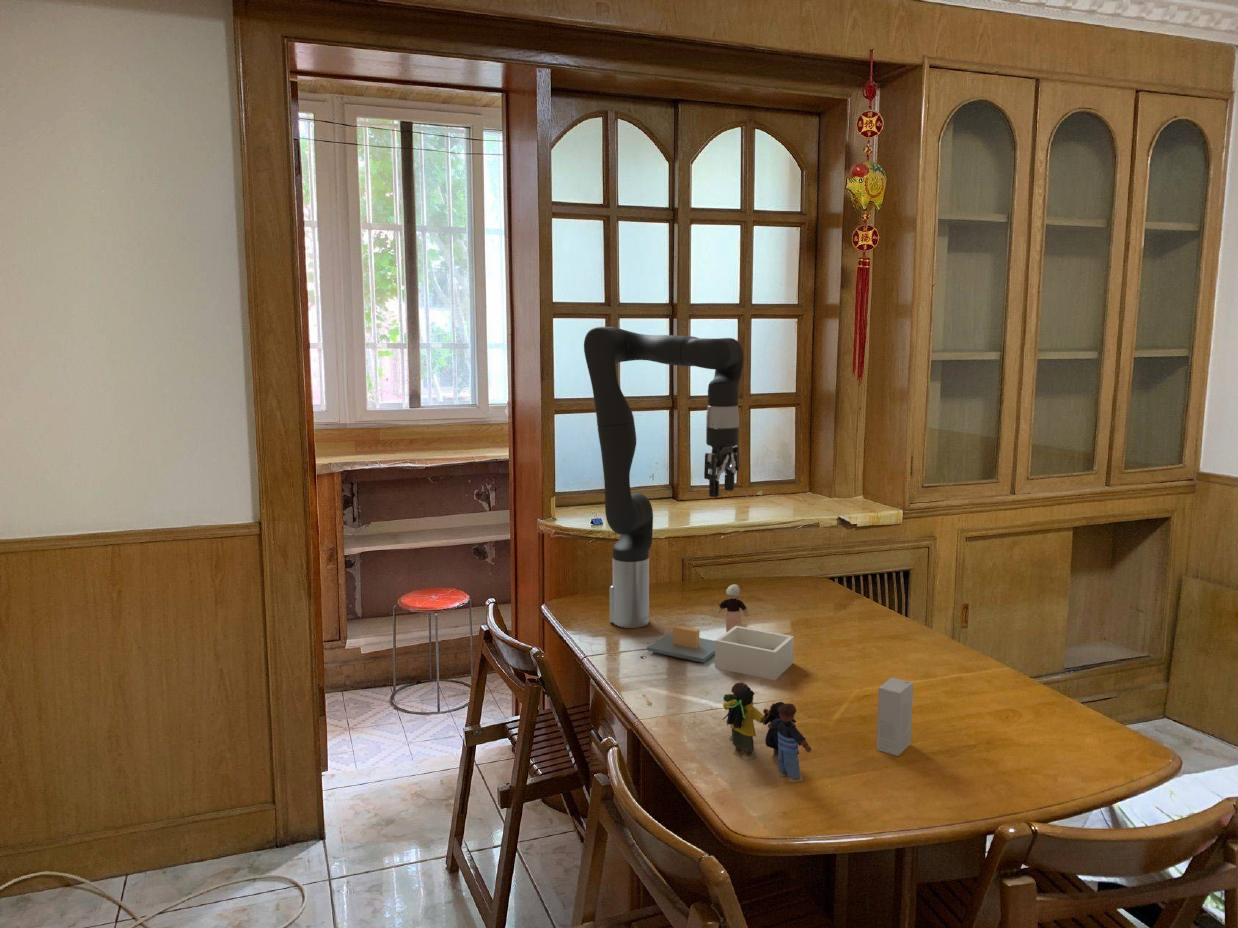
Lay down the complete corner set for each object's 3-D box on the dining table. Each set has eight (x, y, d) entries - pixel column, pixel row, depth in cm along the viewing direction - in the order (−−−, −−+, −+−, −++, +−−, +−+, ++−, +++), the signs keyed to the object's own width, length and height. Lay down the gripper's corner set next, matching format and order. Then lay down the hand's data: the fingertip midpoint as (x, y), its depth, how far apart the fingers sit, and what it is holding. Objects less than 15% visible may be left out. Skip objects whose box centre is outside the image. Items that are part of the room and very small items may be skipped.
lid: (646, 654, 206) (646, 630, 205) (670, 639, 216) (670, 616, 215) (703, 666, 199) (703, 641, 198) (724, 650, 208) (725, 626, 207)
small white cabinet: (714, 670, 198) (715, 640, 196) (735, 654, 207) (735, 625, 206) (774, 683, 190) (775, 652, 189) (793, 666, 200) (793, 636, 199)
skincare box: (888, 737, 166) (891, 676, 164) (911, 744, 163) (914, 682, 161) (875, 749, 161) (877, 686, 159) (898, 757, 158) (901, 693, 156)
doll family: (834, 773, 153) (837, 700, 151) (804, 793, 147) (806, 717, 144) (728, 730, 169) (729, 663, 167) (697, 746, 163) (697, 677, 161)
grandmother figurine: (747, 632, 222) (748, 582, 219) (748, 637, 218) (749, 587, 216) (716, 631, 222) (717, 582, 220) (716, 636, 219) (717, 586, 216)
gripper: (720, 421, 216) (720, 487, 218) (694, 427, 204) (693, 497, 206) (749, 422, 212) (748, 489, 215) (724, 429, 200) (723, 500, 203)
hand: (721, 493), depth 210 cm, fingers open, 8 cm apart
